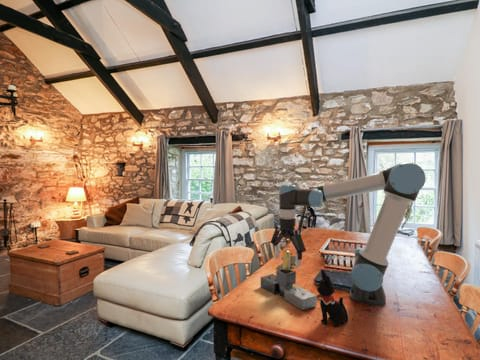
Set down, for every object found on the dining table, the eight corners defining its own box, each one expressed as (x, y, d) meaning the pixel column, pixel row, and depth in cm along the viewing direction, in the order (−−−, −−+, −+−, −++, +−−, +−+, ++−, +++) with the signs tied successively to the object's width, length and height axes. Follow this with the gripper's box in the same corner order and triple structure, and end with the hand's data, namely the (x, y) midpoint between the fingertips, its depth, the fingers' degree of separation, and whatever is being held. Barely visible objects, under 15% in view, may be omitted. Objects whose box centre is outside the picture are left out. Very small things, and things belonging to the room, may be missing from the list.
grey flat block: (316, 305, 124) (316, 295, 124) (302, 310, 120) (302, 299, 120) (297, 295, 134) (297, 285, 134) (284, 299, 130) (284, 288, 130)
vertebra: (292, 272, 159) (286, 254, 161) (277, 275, 166) (271, 258, 168) (308, 263, 175) (303, 247, 177) (294, 266, 181) (289, 251, 184)
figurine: (313, 317, 115) (313, 268, 114) (344, 316, 116) (345, 268, 115) (320, 328, 107) (320, 276, 106) (353, 327, 109) (354, 275, 108)
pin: (290, 280, 135) (291, 251, 134) (286, 282, 133) (286, 252, 132) (285, 278, 137) (286, 249, 136) (281, 280, 135) (282, 250, 135)
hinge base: (296, 295, 135) (296, 271, 135) (284, 299, 130) (285, 275, 130) (272, 283, 149) (272, 261, 148) (260, 287, 144) (260, 264, 143)
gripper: (314, 220, 126) (313, 267, 127) (274, 213, 146) (274, 254, 147) (302, 222, 122) (302, 271, 123) (263, 215, 141) (263, 257, 142)
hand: (287, 262), depth 135 cm, fingers open, 13 cm apart
